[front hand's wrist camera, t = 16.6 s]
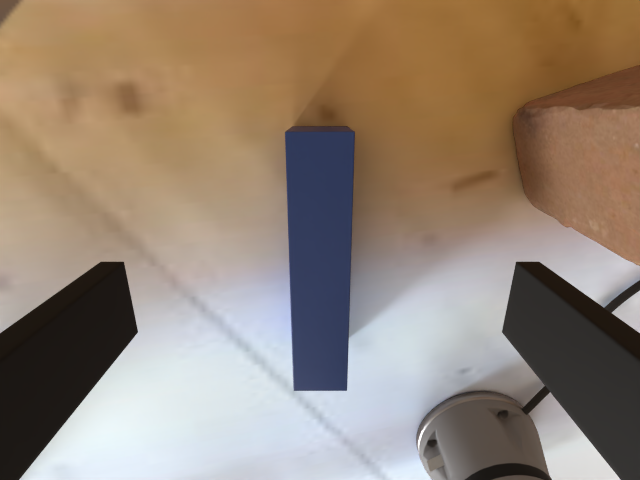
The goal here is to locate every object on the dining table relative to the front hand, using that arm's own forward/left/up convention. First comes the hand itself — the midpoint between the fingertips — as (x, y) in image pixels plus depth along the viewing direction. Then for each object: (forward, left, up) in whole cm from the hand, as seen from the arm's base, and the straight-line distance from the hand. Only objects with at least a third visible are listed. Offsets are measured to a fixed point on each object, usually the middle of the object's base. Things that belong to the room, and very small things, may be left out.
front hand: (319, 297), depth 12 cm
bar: (+4, +7, -26) cm, 27 cm away
